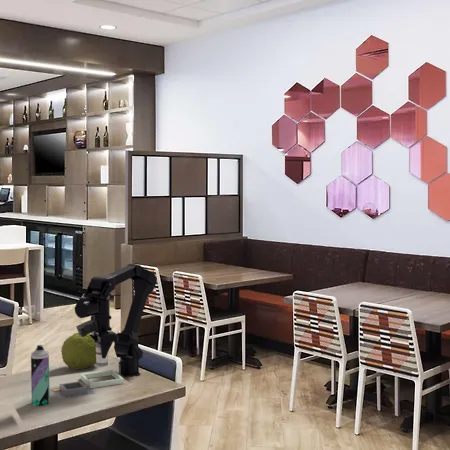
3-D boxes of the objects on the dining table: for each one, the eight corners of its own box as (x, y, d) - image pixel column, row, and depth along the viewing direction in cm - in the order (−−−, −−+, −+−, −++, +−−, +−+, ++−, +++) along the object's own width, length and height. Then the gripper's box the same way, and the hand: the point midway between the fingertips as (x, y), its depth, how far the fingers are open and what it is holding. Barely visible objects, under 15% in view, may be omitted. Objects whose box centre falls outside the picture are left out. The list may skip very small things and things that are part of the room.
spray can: (31, 405, 209) (30, 344, 208) (48, 403, 211) (47, 342, 210) (32, 411, 204) (31, 348, 203) (50, 409, 206) (49, 346, 205)
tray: (113, 378, 238) (112, 369, 238) (123, 387, 228) (123, 378, 228) (80, 382, 233) (80, 374, 233) (90, 392, 222) (90, 383, 222)
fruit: (79, 359, 262) (97, 327, 262) (98, 379, 254) (117, 346, 253) (48, 355, 250) (66, 321, 249) (67, 376, 241) (87, 340, 240)
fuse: (105, 362, 233) (105, 340, 232) (109, 365, 229) (109, 343, 228) (94, 364, 231) (94, 342, 230) (98, 367, 227) (97, 344, 226)
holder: (86, 389, 226) (86, 379, 225) (95, 397, 217) (95, 387, 217) (51, 394, 220) (51, 384, 220) (58, 403, 211) (58, 392, 211)
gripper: (71, 310, 233) (72, 353, 234) (86, 320, 216) (86, 366, 218) (101, 307, 238) (102, 349, 239) (118, 317, 222) (118, 362, 223)
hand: (101, 356), depth 230 cm, fingers closed on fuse, 4 cm apart
